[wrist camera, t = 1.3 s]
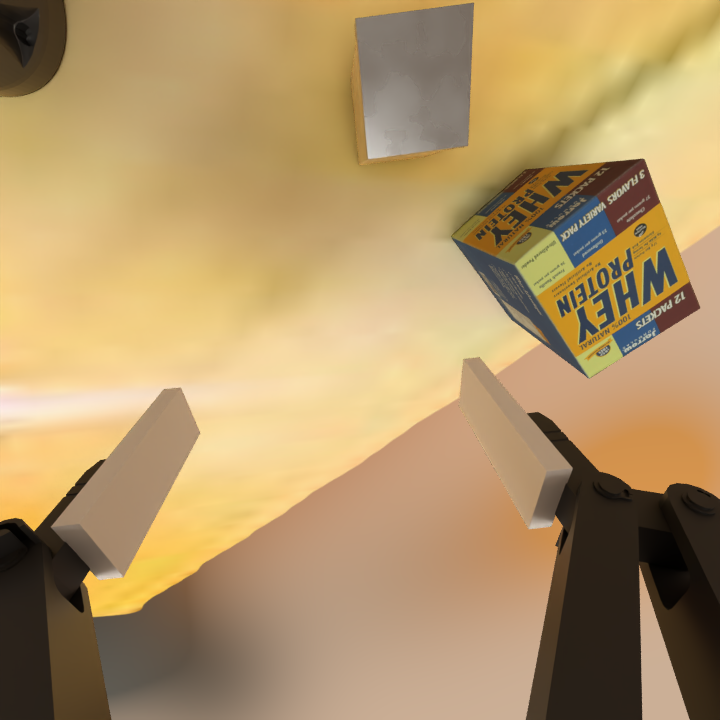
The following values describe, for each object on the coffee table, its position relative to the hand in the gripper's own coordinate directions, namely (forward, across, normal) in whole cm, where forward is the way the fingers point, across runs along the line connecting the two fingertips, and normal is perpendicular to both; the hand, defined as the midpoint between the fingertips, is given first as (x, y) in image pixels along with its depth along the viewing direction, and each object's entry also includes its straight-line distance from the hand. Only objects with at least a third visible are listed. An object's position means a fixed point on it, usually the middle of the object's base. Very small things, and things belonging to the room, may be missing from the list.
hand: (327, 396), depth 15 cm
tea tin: (+27, +8, +14) cm, 31 cm away
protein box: (+27, +23, 0) cm, 36 cm away
